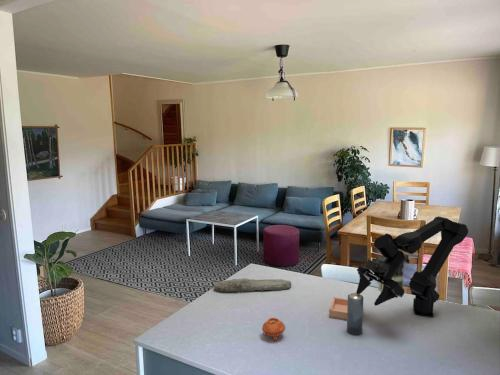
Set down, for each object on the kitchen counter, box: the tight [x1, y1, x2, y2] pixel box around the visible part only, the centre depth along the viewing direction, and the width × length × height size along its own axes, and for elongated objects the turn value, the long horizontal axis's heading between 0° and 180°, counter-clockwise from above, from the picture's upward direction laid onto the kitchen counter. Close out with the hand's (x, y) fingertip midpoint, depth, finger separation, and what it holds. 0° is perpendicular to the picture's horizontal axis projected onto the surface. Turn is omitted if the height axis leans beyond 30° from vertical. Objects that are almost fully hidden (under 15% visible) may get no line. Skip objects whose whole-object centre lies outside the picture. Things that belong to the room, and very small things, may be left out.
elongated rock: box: [213, 277, 292, 294], centre depth 168 cm, size 35×5×10 cm
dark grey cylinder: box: [346, 292, 364, 337], centre depth 130 cm, size 5×5×13 cm
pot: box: [261, 317, 286, 341], centre depth 129 cm, size 8×8×7 cm
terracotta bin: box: [328, 296, 348, 321], centre depth 145 cm, size 12×12×3 cm
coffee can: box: [377, 255, 405, 293], centre depth 164 cm, size 10×10×14 cm
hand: (365, 299), depth 132 cm, fingers open, 9 cm apart
